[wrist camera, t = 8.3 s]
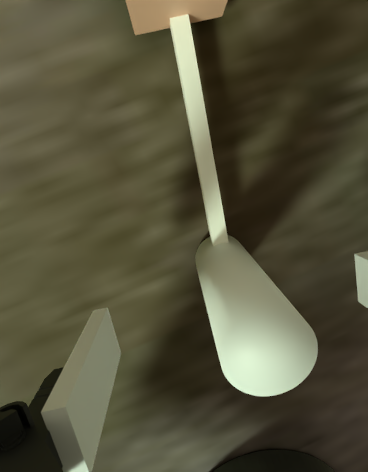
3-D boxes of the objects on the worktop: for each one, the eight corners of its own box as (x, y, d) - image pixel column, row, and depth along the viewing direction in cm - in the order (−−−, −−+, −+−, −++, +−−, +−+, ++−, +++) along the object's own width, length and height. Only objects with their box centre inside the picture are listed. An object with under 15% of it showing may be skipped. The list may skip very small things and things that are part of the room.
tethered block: (257, 274, 22) (340, 381, 11) (190, 288, 22) (210, 408, 11) (203, -77, 17) (263, -494, 6) (115, -58, 17) (19, -440, 6)
